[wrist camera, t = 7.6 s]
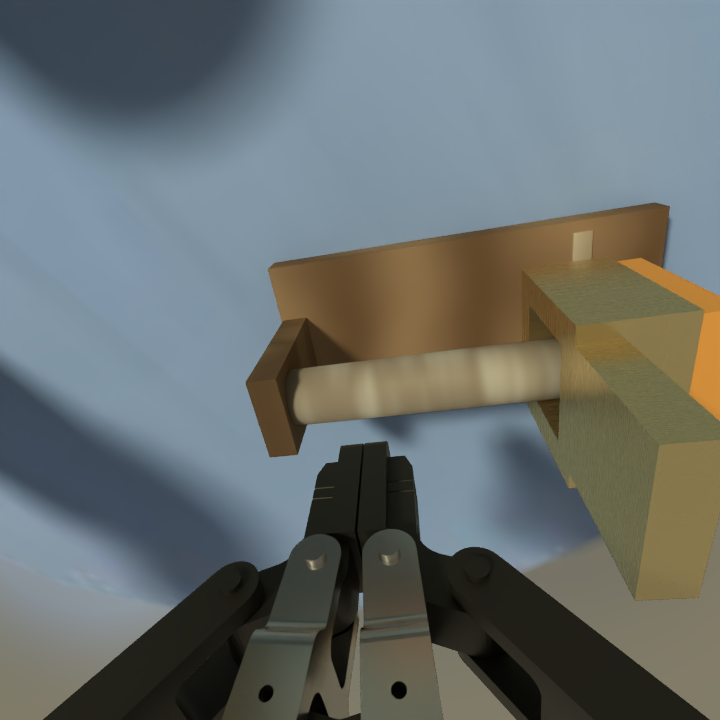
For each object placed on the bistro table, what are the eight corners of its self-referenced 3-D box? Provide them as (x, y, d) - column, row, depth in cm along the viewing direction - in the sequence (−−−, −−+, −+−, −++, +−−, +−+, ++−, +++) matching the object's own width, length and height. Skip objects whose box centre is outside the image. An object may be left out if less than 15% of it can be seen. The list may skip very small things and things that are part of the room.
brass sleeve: (522, 395, 22) (632, 617, 12) (521, 268, 19) (663, 417, 9) (598, 387, 21) (780, 612, 11) (608, 256, 18) (862, 397, 8)
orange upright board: (600, 386, 21) (670, 472, 15) (609, 262, 18) (699, 313, 13) (627, 383, 21) (708, 469, 15) (640, 257, 18) (744, 308, 13)
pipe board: (312, 410, 26) (283, 505, 19) (273, 262, 22) (221, 317, 16) (634, 375, 24) (730, 471, 17) (654, 202, 20) (790, 236, 13)
